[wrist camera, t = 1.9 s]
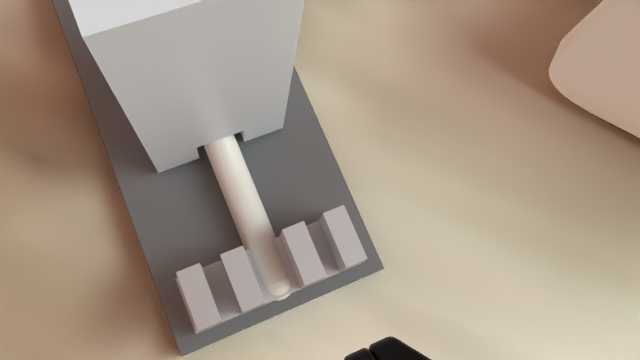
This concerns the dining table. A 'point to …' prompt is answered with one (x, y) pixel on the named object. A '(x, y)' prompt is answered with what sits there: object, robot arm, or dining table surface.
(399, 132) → the dining table surface
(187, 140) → the open-bottomed white box
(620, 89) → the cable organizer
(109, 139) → the cord comb board
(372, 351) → the robot arm
